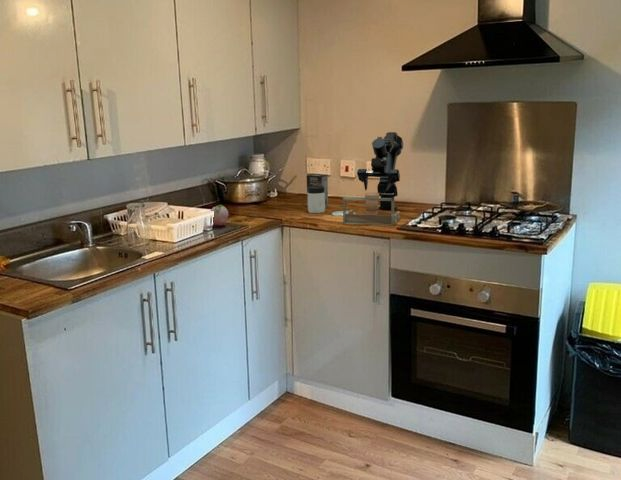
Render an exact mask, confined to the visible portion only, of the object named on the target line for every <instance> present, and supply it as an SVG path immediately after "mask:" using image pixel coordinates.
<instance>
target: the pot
mask: <svg viewBox="0 0 621 480" xmlns="http://www.w3.org/2000/svg"><path fill="white" fill-rule="evenodd" d="M364 198H380V196H379V193H378V192H365V193H364ZM378 207H379V201H372V200H365V211H366V214H372V215H379V214H378V213H379V208H378Z"/></svg>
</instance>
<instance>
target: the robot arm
mask: <svg viewBox="0 0 621 480" xmlns="http://www.w3.org/2000/svg"><path fill="white" fill-rule="evenodd" d="M371 146H372V149H373V153H374V156H375V157H372V158H371V162H370V163H371V164H370V167H371V171H368V169H367V168H359V169H357V172H356V174H357V178H358V179H357V180H358V181H360V182H361V183H363V185H364V186H363V187H364V190H365V191H367V189H368V185H369V184H368V183H369V181H368V179H369V177H371V178H373V177H374V178H379V182H378V183H377V187H376V188H377V193H379V197H380V198H394V199H395V197H398V194H399V193H398V186H397V184H396V183H397V182H400V181H401V175H400V170H399V169H397V168H396V163H397V160H398V159H397V158H398V156H400V155H401V153H402V150H403V149H404V141H403V138H402V137H401V136H400V135H399V134H398V133H397V132H395V131H394V132H393V131H390V132H389V131H388V132H386V134H385V136H384V137H383V136H377V138H375V139H373V141H372V143H371ZM379 203H380V204H379V206H378V209H380V210H386V211H387V210H391V201H379ZM394 209H397V206H394Z"/></svg>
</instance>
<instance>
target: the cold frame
mask: <svg viewBox="0 0 621 480" xmlns="http://www.w3.org/2000/svg"><path fill="white" fill-rule="evenodd" d="M366 200H372V201H378V202H380V201H391V209H390V210H391V214H378V215H372V214H367V213H366V214H365V213H355V214H354V212H355V211H354V209H350V210H348V211H349V212H348V213H346V211H347V207H346V205H347V204H346V203H347V202H346V201H366ZM394 207H395V197H394V198H381V197H379V198H365V197H364V196H363V197H362V196H361V197H359V196H358V197H354V196H350V197H349V196H342V211H343V216H342V224H345V225H346V224H347V225H368V226H393V227H394V226H395V225H396V224H397V222H399V220H400V219H401V211H399V210H397V211H396V212H395V208H394Z"/></svg>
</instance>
